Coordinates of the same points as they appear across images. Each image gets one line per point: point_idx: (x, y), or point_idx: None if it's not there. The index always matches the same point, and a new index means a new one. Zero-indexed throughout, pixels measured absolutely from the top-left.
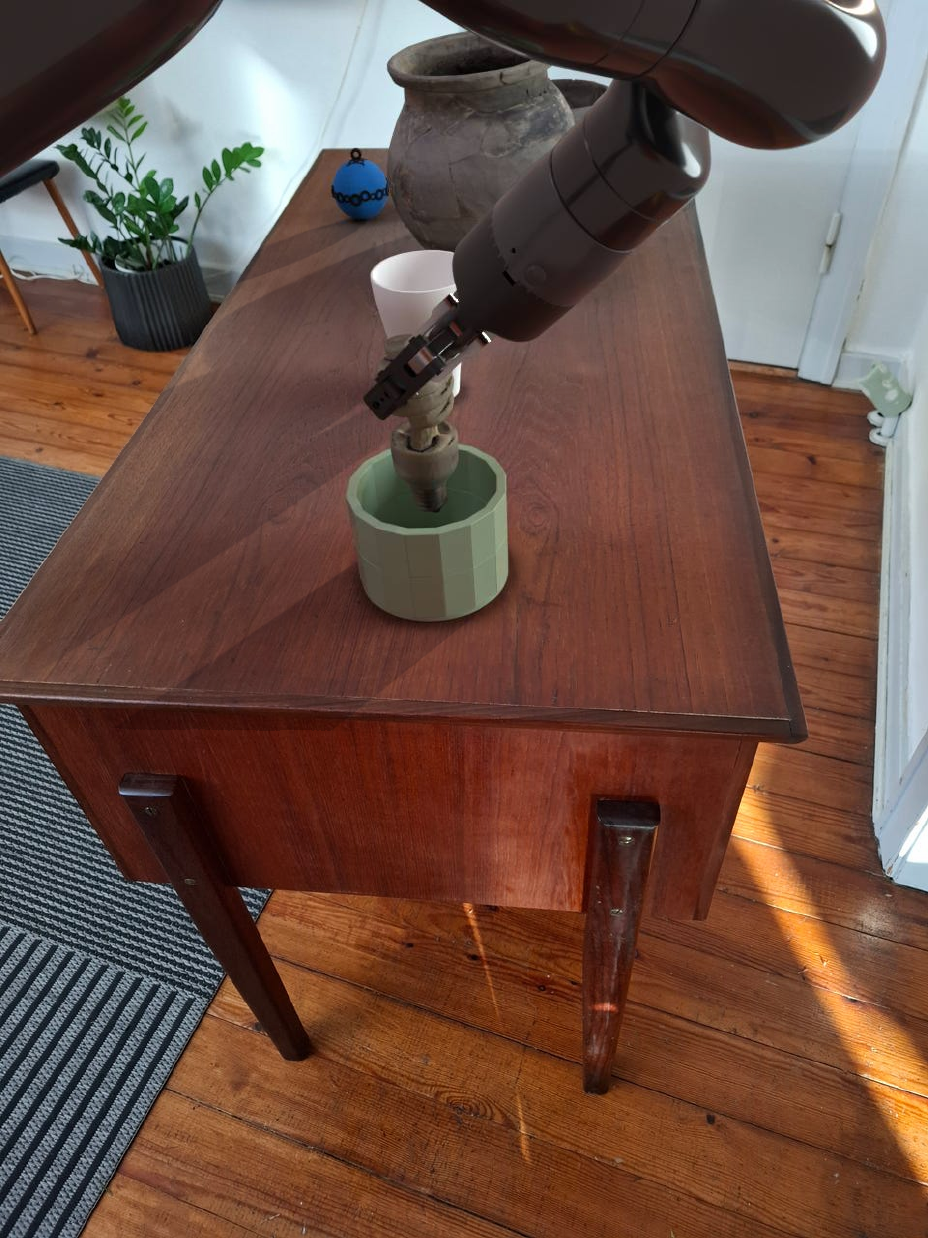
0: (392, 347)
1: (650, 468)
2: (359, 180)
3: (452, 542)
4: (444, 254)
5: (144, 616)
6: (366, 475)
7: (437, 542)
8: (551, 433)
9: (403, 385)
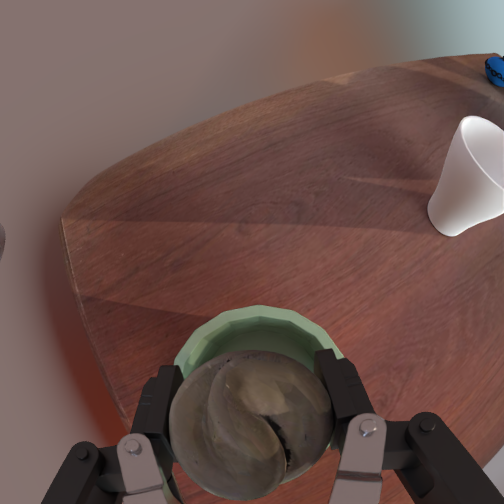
0: (211, 399)
1: (462, 430)
2: (500, 68)
3: None
4: None
5: (117, 230)
6: (243, 319)
7: None
8: (464, 337)
9: (107, 488)
